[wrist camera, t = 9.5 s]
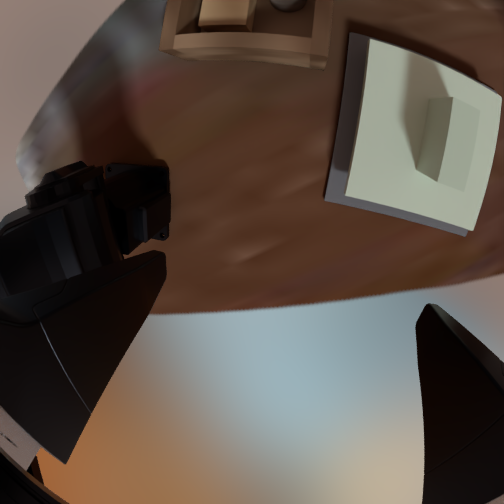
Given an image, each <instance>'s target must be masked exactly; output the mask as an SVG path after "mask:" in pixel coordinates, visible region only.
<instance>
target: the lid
mask: <svg viewBox="0 0 504 504" xmlns="http://www.w3.org/2000/svg"><path fill="white" fill-rule="evenodd" d="M501 102H502V97H501V96H499V95H497V94H496V93H494V92H493V91H491V90H489V89H488V88H486V87H484V86H483V85H481V84H479V83H477V82H476V81H474V80H472V79H470V78H468V77H466V76H464V75H462V74H460V73H458V72H456V71H454V70H452V69H450V68H448V67H446V66H444V65H442V64H439V63H437V62H435V61H433V60H430V59H428V58H425V57H423V56H420V55H418V54H415V53H413V52H410V51H407V50H404V49H402V48H399V47H396V46H393V45H390V44H386V43H383V42H380V41H376V40H373V39H369V41H368V43H367V54H366V63H365V72H364V80H363V88H362V95H361V102H360V109H359V115H358V121H357V127H356V133H355V139H354V144H353V150H352V155H351V160H350V165H349V170H348V175H347V180H346V184H345V189H344V194H345V196H349V197H353V198H358V199H362V200H366V201H370V202H374V203H378V204H382V205H386V206H390V207H394V208H398V209H402V210H405V211H409V212H413V213H416V214H420V215H423V216H427V217H430V218H433V219H437V220H440V221H443V222H446V223H450V224H453V225H456V226H459V227H462V228H465V229H468V230H471V231H473V229H474V226H475V223H476V220H477V217H478V214H479V211H480V208H481V205H482V201H483V198H484V194H485V191H486V187H487V183H488V179H489V175H490V171H491V167H492V162H493V157H494V152H495V147H496V141H497V135H498V128H499V121H500V112H501Z"/></svg>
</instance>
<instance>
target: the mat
mask: <svg viewBox="0 0 504 504" xmlns="http://www.w3.org/2000/svg"><path fill="white" fill-rule="evenodd" d="M369 39H373V40H376V41H380V42H383V43H386V44H390V45H393V46H396V47H399V48H402V49H404V50H407V51H410V52H413V53H415V54H418V55H420V56H423V57H425V58H428V59H430V60H433V61H435V62H437V63H439V64H442V65H444V66H446V67H448V68H450V69H452V70H454V71H456V72H458V73H460V74H462V75H464V76H466V77H468V78H470V79H472V80H474V81H476V82H477V83H479V84H481V85H483V86H484V87H486V88H488V89H489V90H491V91H493V92H494V93H496V94H497V92H496V91H494V90H492V89H491V88H489V87H488V86H486V85H484V84H482V83H481V82H479V81H477V80H475V79H474V78H472V77H470V76H468V75H466V74H464V73H462V72H460V71H458V70H456V69H454V68H452V67H450V66H448V65H446V64H444V63H441V62H439V61H437V60H435V59H432V58H430V57H428V56H425V55H423V54H420V53H418V52H415V51H412V50H410V49H407V48H404V47H401V46H398V45H395V44H392V43H389V42H386V41H383V40H379V39H376V38H372V37H368V36H365V35H361V34H357V33H353V32H350V34H349V45H348V54H347V63H346V72H345V80H344V87H343V95H342V102H341V109H340V115H339V122H338V128H337V134H336V140H335V146H334V151H333V157H332V162H331V168H330V173H329V178H328V183H327V188H326V193H325V198H324V201H329V202H333V203H338V204H343V205H347V206H352V207H356V208H361V209H365V210H369V211H373V212H378V213H382V214H386V215H390V216H394V217H398V218H401V219H405V220H409V221H413V222H417V223H420V224H424V225H427V226H431V227H434V228H438V229H441V230H445V231H448V232H452V233H455V234H458V235H461V236H465V237H466V234H467V232H468V229H465V228H462V227H459V226H456V225H453V224H450V223H446V222H443V221H440V220H437V219H433V218H430V217H427V216H423V215H420V214H416V213H413V212H409V211H405V210H402V209H398V208H394V207H390V206H386V205H382V204H378V203H374V202H370V201H366V200H362V199H358V198H353V197H349V196H345V194H344V189H345V184H346V180H347V175H348V170H349V165H350V160H351V155H352V150H353V144H354V139H355V133H356V127H357V121H358V115H359V109H360V102H361V95H362V88H363V80H364V72H365V63H366V54H367V43H368V41H369Z"/></svg>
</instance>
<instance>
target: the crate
mask: <svg viewBox="0 0 504 504" xmlns="http://www.w3.org/2000/svg"><path fill="white" fill-rule="evenodd" d="M333 3H334V0H168V1H167V6H166V11H165V16H164V21H163V27H162V33H161V39H160V46H159V51H162V52H165V53H168V54H171V55H173V56H176V57H179V58H182V59H184V60H187V61H197V60H230V61H252V62H265V63H276V64H285V65H293V66H300V67H306V68H313V69H318V70H324V69H325V65H326V62H327V59H328V53H329V44H330V35H331V25H332V14H333Z"/></svg>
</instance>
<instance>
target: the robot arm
mask: <svg viewBox="0 0 504 504" xmlns="http://www.w3.org/2000/svg"><path fill="white" fill-rule="evenodd" d="M110 167H111V169H112V170H110ZM161 171H163V172H164V175H162V174H161ZM105 172H106V179H104V178H103V173H104V171H103V166H98V167H95V166H94V165H92V166H87V165H86V164H85V163H84V162H83V161H79V162H76V163H73V164H70V165H67V166H64V167H61V168H59V169H56V170H54V171H51V172H49V173H46V174H45V175H44V177H43V179H42V181H41V183H40V184H39V185H38V186H36V187H35V188H34V189H33V190H32V191H31V192H29V193H28V194H26V195H25V199H26V203H27V205H26V206H24V207H22V208H20V209H17V210H15V211H13V212H11V213H10V214H8V215H6V216H5V217H4V218H3V219H2V221H1V222H0V504H69V503H67V502H66V501H65V500H63V499H62V498H60V497H59V496H58V495H56V494H54V493H53V492H52V491H51V490H49V489H48V488H47V487H45V486H44V483H43V479H42V475H41V472H40V468H39V464H38V460H37V456H36V454H37V452H38V450H39V449H40V447H42V448H43V449H44V450H45V451H47V452H48V453H49V454H51V455H52V456H54V457H55V458H56V459H58V460H59V461H61V462H62V463H64V464H66V463H67V461H68V459H69V457H70V455H71V453H72V451H73V449H74V447H75V445H76V443H77V441H78V439H79V437H80V435H81V433H82V431H83V429H84V427H85V425H86V424H87V422H88V420H89V418H90V416H91V413H92V412H93V410H94V408H95V406H96V404H97V402H98V401H99V399H100V397H101V395H102V393H103V391H104V390H105V388H106V386H107V384H108V382H109V381H110V379H111V377H112V375H113V374H114V372H115V370H116V368H117V367H118V365H119V363H120V361H121V360H122V358H123V356H124V355H125V353H126V351H127V350H128V348H129V346H130V344H131V343H132V341H133V339H134V338H135V336H136V335H137V333H138V331H139V330H140V328H141V326H142V325H143V323H144V321H145V320H146V318H147V316H148V315H149V313H150V311H151V309H152V307H153V305H154V303H155V300H156V298H157V296H158V294H159V292H160V290H161V288H162V286H163V284H164V282H165V280H166V275H167V270H166V256H165V253H164V252H161V251H156V250H152V251H149V252H146V253H142V254H139V255H136V256H133V257H130V258H127V259H124V256H123V254H125V255H129V254H130V253H131V252H132V251H133V250H134V249H135V248H137V247H138V246H139V245H140V244H141V243H142V242H144V243H146V242H147V241H149V240H150V239H151V238H152V239H157V240H162V241H164V240H166V239H167V238H168V237H169V223H170V221H171V194H170V193H169V170H168V168H166V167H163V166H151V165H137V164H121V163H110V164H108V165H106V168H105ZM162 233H163V234H164V235H165V236H163V235H162ZM415 328H416V341H417V358H418V370H419V378H420V386H421V396H422V407H423V421H424V446H425V447H424V448H425V449H424V452H425V453H424V454H425V456H424V461H425V462H424V474H425V475H424V485H423V499H422V504H504V363H503V362H502V361H501V360H500V359H499V358H498V357H497V356H496V355H495V354H494V353H493V352H492V351H490V350H489V349H488V348H487V347H486V346H485V345H484V344H483V343H482V342H481V341H479V340H478V339H477V338H476V337H475V336H474V335H473V334H472V333H470V332H469V331H468V330H467V329H466V328H465V327H463V326H462V325H461V324H460V323H459V322H458V321H456V320H455V319H454V318H453V317H452V316H450V315H449V314H448V313H447V312H446V311H444V310H443V309H442V308H441V307H439V306H438V305H436V304H430V303H429V304H426V306H425V307H424V309H423V311H422V313H421V315H420V316H419V318H418V320H417V322H416V327H415Z"/></svg>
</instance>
